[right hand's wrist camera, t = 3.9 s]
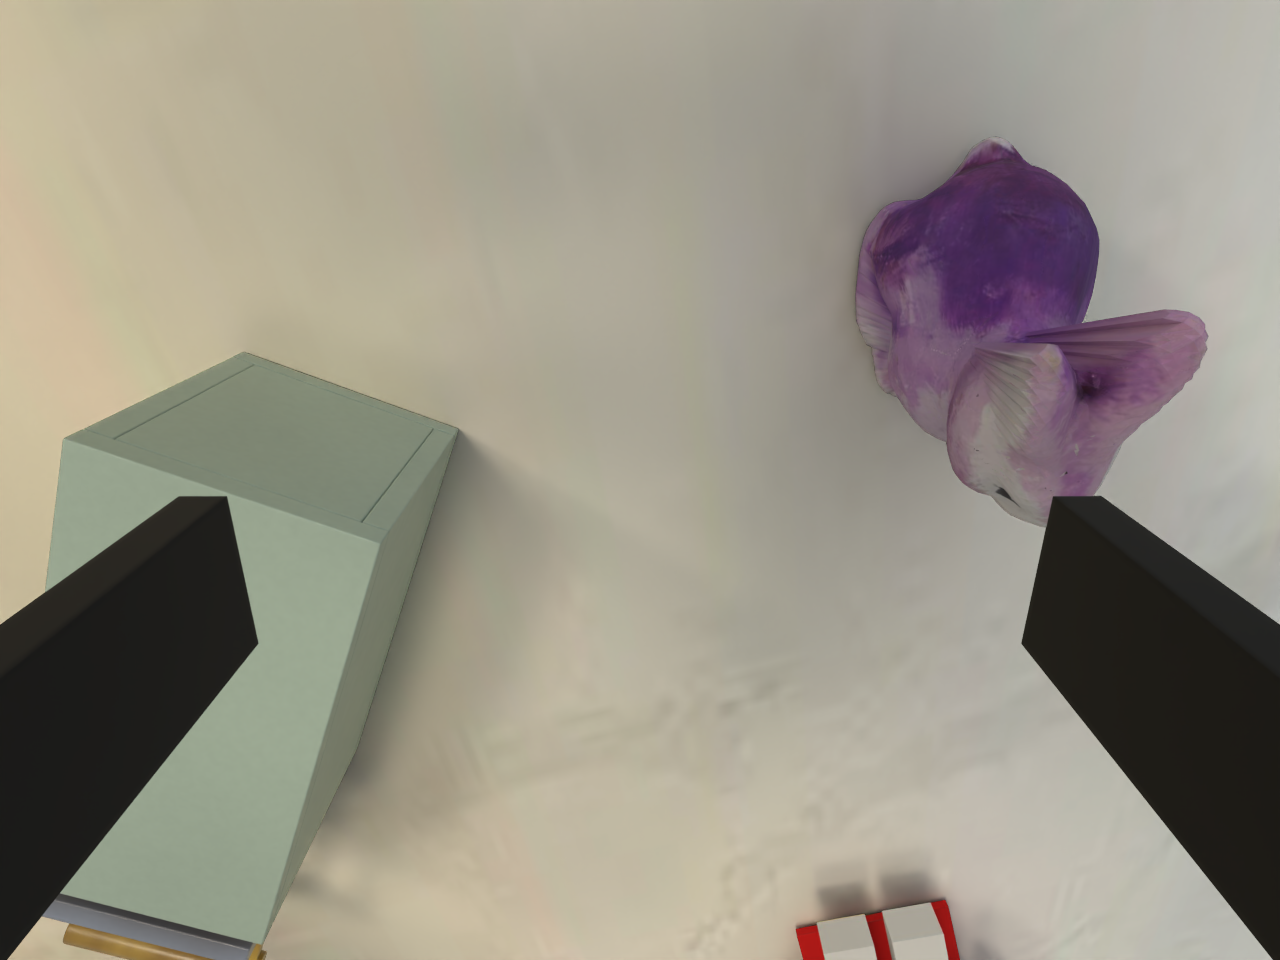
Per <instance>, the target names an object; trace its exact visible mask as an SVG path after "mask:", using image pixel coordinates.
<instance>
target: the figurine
mask: <svg viewBox="0 0 1280 960" xmlns="http://www.w3.org/2000/svg"><path fill="white" fill-rule="evenodd" d="M1098 257H1099V237H1098V232H1097V228H1096V226H1095V224H1094V221H1093V219H1092V217H1091V215H1090V213H1089V211H1088V209H1087V207H1086V205H1085V203H1084V202H1083V201H1082V200H1081V199H1080V198H1079V197H1078V195H1077V194H1076V193H1075V192H1074V191H1073V190H1072V189H1071V188H1070V187H1069V186H1068V185H1067V184H1066V183H1064V182H1063V181H1062V180H1060V179H1059V178H1058V177H1056V176H1055V175H1053V174H1051V173H1050V172H1048V171H1046V170H1044V169H1041V168H1039V167H1035V166H1032V165H1030V164H1029V163H1027V162H1026V161H1025V160H1024V159H1023V158H1022V157H1021V155H1020V154H1019V153H1018V152H1017V150H1016V149H1015V148H1014V146H1013V145H1012V144H1011V143H1009V142H1008V141H1007V140H1005V139H1002V138H1000V137H990V138H987V139H985V140H983V141H981V142H980V143H978V144H977V145H975V146H974V147H973V148H972V149H971V150H970V151H969V153H968V155H967V156H966V158H965V159H964V161H963V162H962V164H961V165H960V166H959V168H958V169H957V170H956V171H955V173H954V174H953V175H952V176H951V177H950V178H949V179H948V180H947V181H946V182H945V183H944V184H943V185H942V186H941V187H939V188H938V189H936V190H935V191H933V192H932V193H930V194H929V195H927V196H926V197H924V198H922V199H918V200H906V201H897V202H893V203H891V204H889V205H887V206H886V207H884V208H883V209H882V210H880V212H879V213H878V214H877V215H876V217H875V218H874V220H873V221H872V222H871V224H870V225H869V227H868V229H867V230H866V233H865V236H864V240H863V243H862V247H861V251H860V256H859V266H858V276H857V286H856V316H857V320H856V321H857V324H858V326H859V328H860V331H861V334H862V337H863V339H864V340H865V342H866V344H867V345H868V346H871V347H872V355H873V359H874V366H875V374H876V379H877V382H878V383H879V385H880V387H881V388H882V389H883V391H885V392H886V393H890V394H891V395H893V396H895V397H896V396H897V397H898V398H899V400H900V402H901V403H902V405H903V407H904V408H905V409H906V411H907V412H908V413H909V414H910V416H911V417H912V418H913V420H914V421H915V422H916V423H917V424H918V425H919V426H920V427H921V428H922V429H923V430H924V431H925V432H927V433H929V434H930V435H932V436H934V437H936V438H938V439H940V440H942V441H945V442H946V444H947V451H948V455H949V458H950V462H951V465H952V468H953V470H954V472H955V474H956V475H957V477H958V478H959V479H960V480H961V481H962V483H964V484H965V485H966V486H968V487H969V488H971V489H973V490H975V491H977V492H979V493H982V494H986V495H989V496H992V497H993V498H994V500H995V501H996V502H997V504H998V505H999V506H1000V507H1001V508H1002V509H1003V510H1005V511H1006V512H1007V513H1009V514H1010V515H1012V516H1014V517H1016V518H1018V519H1020V520H1023V521H1026V522H1029V523H1032V524H1035V525H1038V526H1041V527H1046V526H1047V521H1048V517H1049V512H1050V507H1051V503H1052V498H1053V496H1093V495H1094V494H1095V493H1096V491H1097V490H1098V488H1099V487H1100V486H1101V484H1102V482H1103V480H1104V479H1105V477H1106V475H1107V473H1108V471H1109V470H1110V468H1111V466H1112V464H1113V462H1114V460H1115V458H1116V456H1117V454H1118V452H1119V450H1120V447H1121V445H1122V443H1123V441H1124V440H1125V439H1126V438H1128V437H1129V436H1130V435H1131V434H1132V433H1133V432H1134V431H1135V430H1137V429H1138V427H1139V426H1140V425H1141V424H1142V423H1143V422H1145V421H1147V420H1148V419H1149V418H1151V417H1152V416H1153V415H1155V414H1156V413H1157V412H1159V410H1160V409H1161V408H1162V406H1163V405H1165V404H1167V403H1168V402H1169V401H1170V400H1171V398H1173V397H1174V396H1175V395H1176V394H1177V393H1178V392H1179V391H1181V390H1182V388H1183V386H1184V384H1185V383H1186V382H1188V381H1189V380H1191V379H1192V377H1193V373H1194V372H1195V371H1196V370H1197V369H1199V368H1200V361H1201V360H1202V358H1203V356H1204V355H1205V353H1206V351H1207V346H1206V341H1207V338H1208V334H1207V332H1206V330H1205V324H1204V322H1203V321H1202V320H1201V319H1200V318H1199V317H1197V316H1195V315H1193V314H1192V313H1190V312H1185V311H1178V310H1159V311H1153V312H1147V313H1141V314H1135V315H1128V316H1122V317H1116V318H1110V319H1104V320H1098V321H1092V322H1086V323H1082V321H1083V319H1084V317H1085V314H1086V312H1087V309H1088V306H1089V303H1090V299H1091V296H1092V293H1093V288H1094V283H1095V278H1096V271H1097V265H1098Z"/></svg>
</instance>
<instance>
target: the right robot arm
mask: <svg viewBox="0 0 1280 960" xmlns="http://www.w3.org/2000/svg"><path fill="white" fill-rule="evenodd" d="M258 644H259V643H258V638H257V634H256V629H255V624H254V620H253V615H252V610H251V606H250V601H249V596H248V592H247V587H246V582H245V578H244V573H243V568H242V564H241V559H240V554H239V550H238V545H237V540H236V536H235V531H234V526H233V521H232V517H231V512H230V507H229V503H228V498H227V496H178V497H177V498H176V499H174V500H173V501H171V502H170V503H169V504H167V505H166V506H165V507H163V508H162V509H160V510H159V511H158V512H156V513H155V514H153V515H152V516H151V517H149V518H148V519H146V520H145V521H144V522H142V523H141V524H139V525H138V526H137V527H135V528H134V529H133V530H131V531H130V532H128V533H127V534H126V535H124V536H123V537H121V538H120V539H119V540H117V541H116V542H114V543H113V544H112V545H110V546H109V547H108V548H106V549H105V550H103V551H102V552H101V553H99V554H98V555H96V556H95V557H94V558H92V559H91V560H89V561H88V562H87V563H85V564H84V565H83V566H81V567H80V568H78V569H77V570H76V571H74V572H73V573H71V574H70V575H69V576H67V577H66V578H64V579H63V580H62V581H60V582H59V583H58V584H56V585H55V586H53V587H52V588H51V589H49V590H48V591H46V592H45V593H44V594H42V595H41V596H39V597H38V598H37V599H35V600H34V601H32V602H31V603H30V604H28V605H27V606H26V607H24V608H23V609H21V610H20V611H19V612H17V613H16V614H14V615H13V616H12V617H10V618H9V619H7V620H6V621H5V622H3V623H2V624H1V625H0V960H7V959H8V958H9V957H10V955H11V954H12V953H13V952H14V950H15V949H16V948H17V947H18V945H19V944H20V943H21V941H22V940H23V939H24V938H25V936H26V935H27V934H28V933H29V931H30V930H31V929H32V928H33V926H34V925H35V924H36V923H37V921H38V920H39V919H40V918H41V916H42V915H43V914H44V913H45V911H46V910H47V909H48V908H49V906H50V905H51V904H52V903H53V901H54V900H55V899H56V898H57V896H58V895H59V894H60V892H61V891H62V890H63V889H64V887H65V886H66V885H67V884H68V882H69V881H70V880H71V879H72V877H73V876H74V875H75V874H76V872H77V871H78V870H79V869H80V867H81V866H82V865H83V864H84V862H85V861H86V860H87V859H88V857H89V856H90V855H91V854H92V852H93V851H94V850H95V849H96V847H97V846H98V845H99V843H100V842H101V841H102V840H103V838H104V837H105V836H106V835H107V833H108V832H109V831H110V830H111V828H112V827H113V826H114V825H115V823H116V822H117V821H118V820H119V818H120V817H121V816H122V815H123V813H124V812H125V811H126V810H127V808H128V807H129V806H130V805H131V803H132V802H133V801H134V800H135V798H136V797H137V796H138V794H139V793H140V792H141V791H142V789H143V788H144V787H145V786H146V784H147V783H148V782H149V781H150V779H151V778H152V777H153V776H154V774H155V773H156V772H157V771H158V769H159V768H160V767H161V766H162V764H163V763H164V762H165V761H166V759H167V758H168V757H169V756H170V754H171V753H172V752H173V750H174V749H175V748H176V747H177V745H178V744H179V743H180V742H181V740H182V739H183V738H184V737H185V735H186V734H187V733H188V732H189V730H190V729H191V728H192V727H193V725H194V724H195V723H196V722H197V720H198V719H199V718H200V717H201V715H202V714H203V713H204V712H205V710H206V709H207V708H208V707H209V705H210V704H211V703H212V701H213V700H214V699H215V698H216V696H217V695H218V694H219V693H220V691H221V690H222V689H223V688H224V686H225V685H226V684H227V683H228V681H229V680H230V679H231V678H232V676H233V675H234V674H235V673H236V671H237V670H238V669H239V668H240V666H241V665H242V664H243V663H244V661H245V660H246V659H247V658H248V656H249V655H250V654H251V652H252V651H253V650H254V649H255V647H256V646H257V645H258ZM1021 644H1022V645H1023V646H1024V647H1025V649H1026V650H1027V651H1028V652H1029V654H1030V655H1031V656H1032V658H1033V659H1034V660H1035V661H1036V663H1037V664H1038V665H1039V666H1040V668H1041V669H1042V670H1043V671H1044V673H1045V674H1046V675H1047V676H1048V678H1049V679H1050V680H1051V681H1052V683H1053V684H1054V685H1055V686H1056V688H1057V689H1058V690H1059V691H1060V693H1061V694H1062V695H1063V696H1064V698H1065V699H1066V700H1067V701H1068V703H1069V704H1070V705H1071V707H1072V708H1073V709H1074V710H1075V712H1076V713H1077V714H1078V715H1079V717H1080V718H1081V719H1082V720H1083V722H1084V723H1085V724H1086V725H1087V727H1088V728H1089V729H1090V730H1091V732H1092V733H1093V734H1094V735H1095V737H1096V738H1097V739H1098V740H1099V742H1100V743H1101V744H1102V745H1103V747H1104V748H1105V749H1106V751H1107V752H1108V753H1109V754H1110V756H1111V757H1112V758H1113V759H1114V761H1115V762H1116V763H1117V764H1118V766H1119V767H1120V768H1121V769H1122V771H1123V772H1124V773H1125V774H1126V776H1127V777H1128V778H1129V779H1130V781H1131V782H1132V783H1133V784H1134V786H1135V787H1136V788H1137V789H1138V791H1139V792H1140V793H1141V794H1142V796H1143V797H1144V798H1145V800H1146V801H1147V802H1148V803H1149V805H1150V806H1151V807H1152V808H1153V810H1154V811H1155V812H1156V813H1157V815H1158V816H1159V817H1160V818H1161V820H1162V821H1163V822H1164V823H1165V825H1166V826H1167V827H1168V828H1169V830H1170V831H1171V832H1172V833H1173V835H1174V836H1175V837H1176V838H1177V840H1178V841H1179V842H1180V843H1181V845H1182V846H1183V847H1184V849H1185V850H1186V851H1187V852H1188V854H1189V855H1190V856H1191V857H1192V859H1193V860H1194V861H1195V862H1196V864H1197V865H1198V866H1199V867H1200V869H1201V870H1202V871H1203V872H1204V874H1205V875H1206V876H1207V877H1208V879H1209V880H1210V881H1211V882H1212V884H1213V885H1214V886H1215V887H1216V889H1217V890H1218V891H1219V892H1220V894H1221V895H1222V896H1223V898H1224V899H1225V900H1226V901H1227V903H1228V904H1229V905H1230V906H1231V908H1232V909H1233V910H1234V911H1235V913H1236V914H1237V915H1238V916H1239V918H1240V919H1241V920H1242V921H1243V923H1244V924H1245V925H1246V926H1247V928H1248V929H1249V930H1250V931H1251V933H1252V934H1253V935H1254V936H1255V938H1256V939H1257V940H1258V941H1259V943H1260V944H1261V945H1262V947H1263V948H1264V949H1265V950H1266V952H1267V953H1268V954H1269V955H1270V957H1271V958H1272V959H1273V960H1280V625H1279V624H1278V623H1277V622H1275V621H1274V620H1273V619H1271V618H1270V617H1268V616H1267V615H1266V614H1264V613H1263V612H1261V611H1260V610H1259V609H1257V608H1256V607H1254V606H1253V605H1252V604H1250V603H1249V602H1248V601H1246V600H1245V599H1243V598H1242V597H1241V596H1239V595H1238V594H1236V593H1235V592H1234V591H1232V590H1231V589H1229V588H1228V587H1227V586H1225V585H1224V584H1222V583H1221V582H1220V581H1218V580H1217V579H1216V578H1214V577H1213V576H1211V575H1210V574H1209V573H1207V572H1206V571H1204V570H1203V569H1202V568H1200V567H1199V566H1197V565H1196V564H1195V563H1193V562H1192V561H1191V560H1189V559H1188V558H1186V557H1185V556H1184V555H1182V554H1181V553H1179V552H1178V551H1177V550H1175V549H1174V548H1172V547H1171V546H1170V545H1168V544H1167V543H1166V542H1164V541H1163V540H1161V539H1160V538H1159V537H1157V536H1156V535H1154V534H1153V533H1152V532H1150V531H1149V530H1147V529H1146V528H1145V527H1143V526H1142V525H1141V524H1139V523H1138V522H1136V521H1135V520H1134V519H1132V518H1131V517H1129V516H1128V515H1127V514H1125V513H1124V512H1122V511H1121V510H1120V509H1118V508H1117V507H1115V506H1114V505H1113V504H1111V503H1110V502H1109V501H1107V500H1106V499H1104V498H1103V497H1102V496H1053V498H1052V503H1051V507H1050V512H1049V517H1048V521H1047V526H1046V531H1045V535H1044V540H1043V545H1042V550H1041V554H1040V559H1039V564H1038V568H1037V573H1036V578H1035V582H1034V587H1033V592H1032V596H1031V601H1030V606H1029V610H1028V615H1027V620H1026V624H1025V629H1024V634H1023V638H1022V643H1021Z"/></svg>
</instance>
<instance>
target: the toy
mask: <svg viewBox="0 0 1280 960" xmlns="http://www.w3.org/2000/svg"><path fill="white" fill-rule="evenodd" d="M796 933H797V938H798V941H799V945H800V949H801V953H802V956H803V960H960V958H959V953H958V949H957V944H956V940H955V935H954V930H953V926H952V921H951V917H950V912H949V908H948V905H947V903H946V901H945V900H942V901H937V902H932V903H931V902H930V903H924V904H919V905H913V906H907V907H901V908H895V909H890V910H884V911H882V912H881V913H876V914H870V915H865V914H861V915H855V916H849V917H843V918H837V919H832V920H826V921H820V922H817V925H814V926H809V927H804V928H799V929H796Z"/></svg>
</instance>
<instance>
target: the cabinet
mask: <svg viewBox="0 0 1280 960" xmlns="http://www.w3.org/2000/svg"><path fill="white" fill-rule="evenodd" d="M457 433H458V429H457V428H454V427H452V426H449V425H446V424H443V423H440V422H438V421H435V420H432V419H429V418H427V417H424V416H421V415H418V414H415V413H413V412H410V411H407V410H404V409H401V408H399V407H396V406H393V405H390V404H387V403H385V402H382V401H379V400H376V399H374V398H371V397H368V396H365V395H362V394H360V393H357V392H354V391H351V390H348V389H346V388H343V387H340V386H337V385H334V384H332V383H329V382H326V381H323V380H320V379H318V378H315V377H312V376H309V375H307V374H304V373H301V372H298V371H295V370H293V369H290V368H287V367H284V366H281V365H279V364H276V363H273V362H270V361H267V360H265V359H262V358H259V357H256V356H253V355H251V354H248V353H245V352H242V353H240V354H238V355H236V356H234V357H232V358H230V359H228V360H226V361H224V362H222V363H220V364H218V365H216V366H213V367H211V368H209V369H207V370H205V371H203V372H201V373H199V374H197V375H195V376H193V377H191V378H189V379H186V380H184V381H182V382H180V383H178V384H176V385H174V386H172V387H170V388H168V389H166V390H164V391H162V392H159V393H157V394H155V395H153V396H151V397H149V398H147V399H145V400H143V401H141V402H139V403H137V404H135V405H132V406H130V407H128V408H126V409H124V410H122V411H120V412H118V413H116V414H114V415H112V416H110V417H108V418H105V419H103V420H101V421H99V422H97V423H95V424H93V425H91V426H89V427H87V428H85V429H84V430H80V431H78V432H76V433H74V434H72V435H70V436H68V437H66V438H64V439H63V445H62V453H61V462H60V470H59V479H58V487H57V496H56V504H55V513H54V521H53V529H52V538H51V546H50V555H49V563H48V572H47V580H46V589H45V592H46V591H48V590H49V589H51V588H52V587H53V586H55V585H56V584H58V583H59V582H60V581H62V580H63V579H64V578H66V577H67V576H69V575H70V574H71V573H73V572H74V571H76V570H77V569H78V568H80V567H81V566H83V565H84V564H85V563H87V562H88V561H89V560H91V559H92V558H94V557H95V556H96V555H98V554H99V553H101V552H102V551H103V550H105V549H106V548H108V547H109V546H110V545H112V544H113V543H114V542H116V541H117V540H119V539H120V538H121V537H123V536H124V535H126V534H127V533H128V532H130V531H131V530H133V529H134V528H135V527H137V526H138V525H139V524H141V523H142V522H144V521H145V520H146V519H148V518H149V517H151V516H152V515H153V514H155V513H156V512H158V511H159V510H160V509H162V508H163V507H165V506H166V505H167V504H169V503H170V502H171V501H173V500H174V499H176V498H177V497H178V496H227V498H228V503H229V507H230V512H231V517H232V521H233V526H234V531H235V536H236V540H237V545H238V550H239V554H240V559H241V564H242V568H243V573H244V578H245V582H246V587H247V592H248V596H249V601H250V606H251V610H252V615H253V620H254V624H255V629H256V634H257V638H258V643H259V644H258V645H257V646H256V647H255V649H254V650H253V651H252V652H251V654H250V655H249V656H248V658H247V659H246V660H245V661H244V663H243V664H242V665H241V666H240V668H239V669H238V670H237V671H236V673H235V674H234V675H233V676H232V678H231V679H230V680H229V681H228V683H227V684H226V685H225V686H224V688H223V689H222V690H221V691H220V693H219V694H218V695H217V696H216V698H215V699H214V700H213V701H212V703H211V704H210V705H209V707H208V708H207V709H206V710H205V712H204V713H203V714H202V715H201V717H200V718H199V719H198V720H197V722H196V723H195V724H194V725H193V727H192V728H191V729H190V730H189V732H188V733H187V734H186V735H185V737H184V738H183V739H182V740H181V742H180V743H179V744H178V745H177V747H176V748H175V749H174V750H173V752H172V753H171V754H170V756H169V757H168V758H167V759H166V761H165V762H164V763H163V764H162V766H161V767H160V768H159V769H158V771H157V772H156V773H155V774H154V776H153V777H152V778H151V779H150V781H149V782H148V783H147V784H146V786H145V787H144V788H143V789H142V791H141V792H140V793H139V794H138V796H137V797H136V798H135V800H134V801H133V802H132V803H131V805H130V806H129V807H128V808H127V810H126V811H125V812H124V813H123V815H122V816H121V817H120V818H119V820H118V821H117V822H116V823H115V825H114V826H113V827H112V828H111V830H110V831H109V832H108V833H107V835H106V836H105V837H104V838H103V840H102V841H101V842H100V843H99V845H98V846H97V847H96V849H95V850H94V851H93V852H92V854H91V855H90V856H89V857H88V859H87V860H86V861H85V862H84V864H83V865H82V866H81V867H80V869H79V870H78V871H77V872H76V874H75V875H74V876H73V877H72V879H71V880H70V881H69V882H68V884H67V885H66V886H65V887H64V889H63V890H62V891H61V892H60V893H61V894H65V895H69V896H72V897H76V898H80V899H84V900H88V901H92V902H96V903H100V904H104V905H108V906H112V907H115V908H119V909H123V910H127V911H131V912H135V913H139V914H143V915H147V916H151V917H155V918H158V919H162V920H166V921H170V922H174V923H178V924H182V925H186V926H190V927H194V928H198V929H201V930H205V931H209V932H213V933H217V934H221V935H225V936H229V937H233V938H237V939H241V940H244V941H248V942H252V943H256V944H260V945H262V944H263V943H264V941H265V938H266V936H267V934H268V932H269V930H270V928H271V926H272V923H273V922H274V920H275V918H276V916H277V914H278V911H279V909H280V907H281V905H282V903H283V901H284V899H285V897H286V895H287V893H288V891H289V889H290V887H291V884H292V882H293V880H294V878H295V876H296V874H297V872H298V870H299V868H300V866H301V864H302V862H303V860H304V858H305V855H306V853H307V851H308V849H309V847H310V845H311V843H312V841H313V839H314V837H315V835H316V833H317V831H318V828H319V826H320V824H321V822H322V820H323V818H324V816H325V814H326V812H327V810H328V808H329V806H330V804H331V801H332V799H333V797H334V795H335V793H336V791H337V789H338V787H339V785H340V783H341V781H342V779H343V777H344V775H345V772H346V770H347V768H348V766H349V764H350V762H351V760H352V758H353V756H354V754H355V752H356V750H357V748H358V745H359V741H360V738H361V735H362V732H363V729H364V726H365V723H366V719H367V716H368V713H369V710H370V707H371V704H372V701H373V697H374V694H375V691H376V688H377V685H378V682H379V679H380V675H381V672H382V669H383V666H384V663H385V660H386V657H387V653H388V650H389V647H390V644H391V641H392V638H393V635H394V631H395V628H396V625H397V622H398V619H399V616H400V613H401V609H402V606H403V603H404V600H405V597H406V594H407V591H408V587H409V584H410V581H411V578H412V575H413V572H414V569H415V565H416V562H417V559H418V556H419V553H420V550H421V547H422V543H423V540H424V537H425V534H426V531H427V528H428V524H429V521H430V518H431V515H432V512H433V509H434V506H435V502H436V499H437V496H438V493H439V490H440V487H441V484H442V480H443V477H444V474H445V471H446V468H447V465H448V462H449V458H450V455H451V452H452V449H453V446H454V443H455V440H456V436H457Z"/></svg>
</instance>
